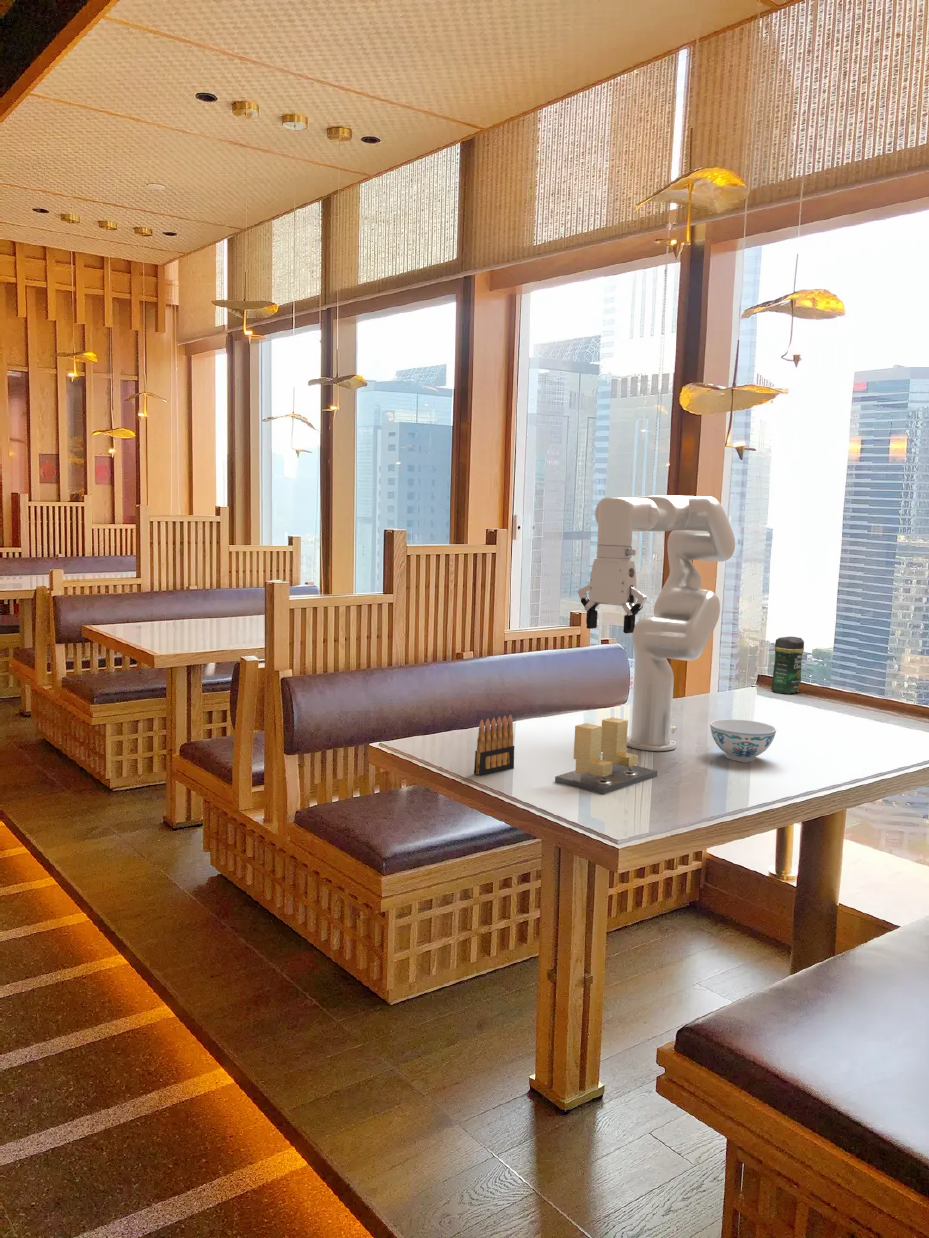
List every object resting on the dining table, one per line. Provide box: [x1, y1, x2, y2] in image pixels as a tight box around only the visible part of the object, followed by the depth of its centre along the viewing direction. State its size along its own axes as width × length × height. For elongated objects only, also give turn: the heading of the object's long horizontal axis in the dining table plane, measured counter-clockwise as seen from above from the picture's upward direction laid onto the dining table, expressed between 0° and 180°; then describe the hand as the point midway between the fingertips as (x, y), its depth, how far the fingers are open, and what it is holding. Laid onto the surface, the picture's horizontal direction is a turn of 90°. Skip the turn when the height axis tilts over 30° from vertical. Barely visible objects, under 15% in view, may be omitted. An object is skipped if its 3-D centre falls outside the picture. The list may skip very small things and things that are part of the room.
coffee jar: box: [770, 636, 805, 695], centre depth 325 cm, size 10×8×19 cm
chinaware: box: [709, 718, 777, 763], centre depth 232 cm, size 15×15×8 cm
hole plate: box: [554, 722, 658, 795], centre depth 209 cm, size 21×12×12 cm, turn 139°
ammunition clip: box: [473, 714, 515, 777], centre depth 212 cm, size 11×2×12 cm, turn 134°
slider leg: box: [601, 717, 639, 771], centre depth 211 cm, size 4×7×10 cm, turn 49°
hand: (609, 630), depth 220 cm, fingers open, 9 cm apart
